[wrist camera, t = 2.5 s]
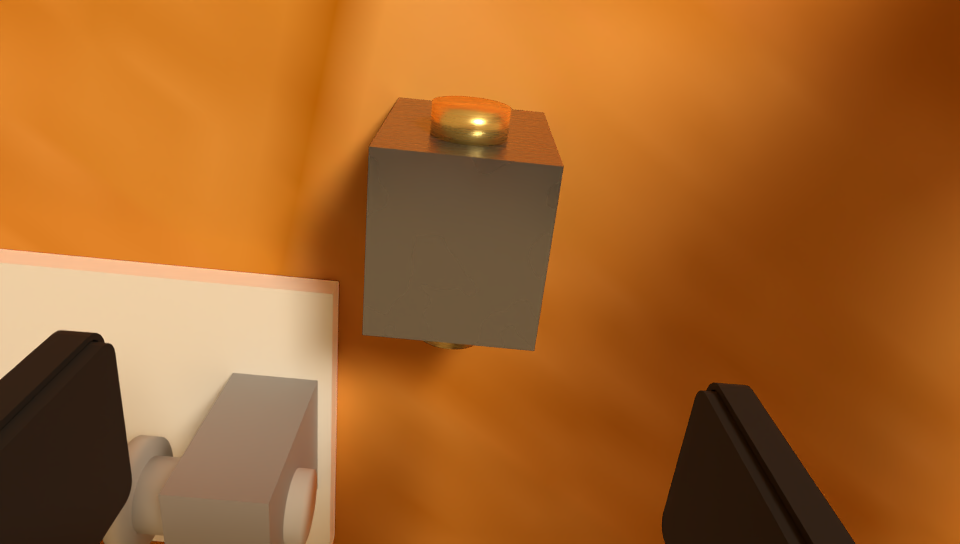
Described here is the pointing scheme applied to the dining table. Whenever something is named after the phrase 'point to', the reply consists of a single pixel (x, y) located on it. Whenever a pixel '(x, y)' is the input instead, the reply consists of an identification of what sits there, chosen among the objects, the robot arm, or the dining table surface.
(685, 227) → the dining table surface
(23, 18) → the dining table surface
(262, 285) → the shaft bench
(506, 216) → the joint block
